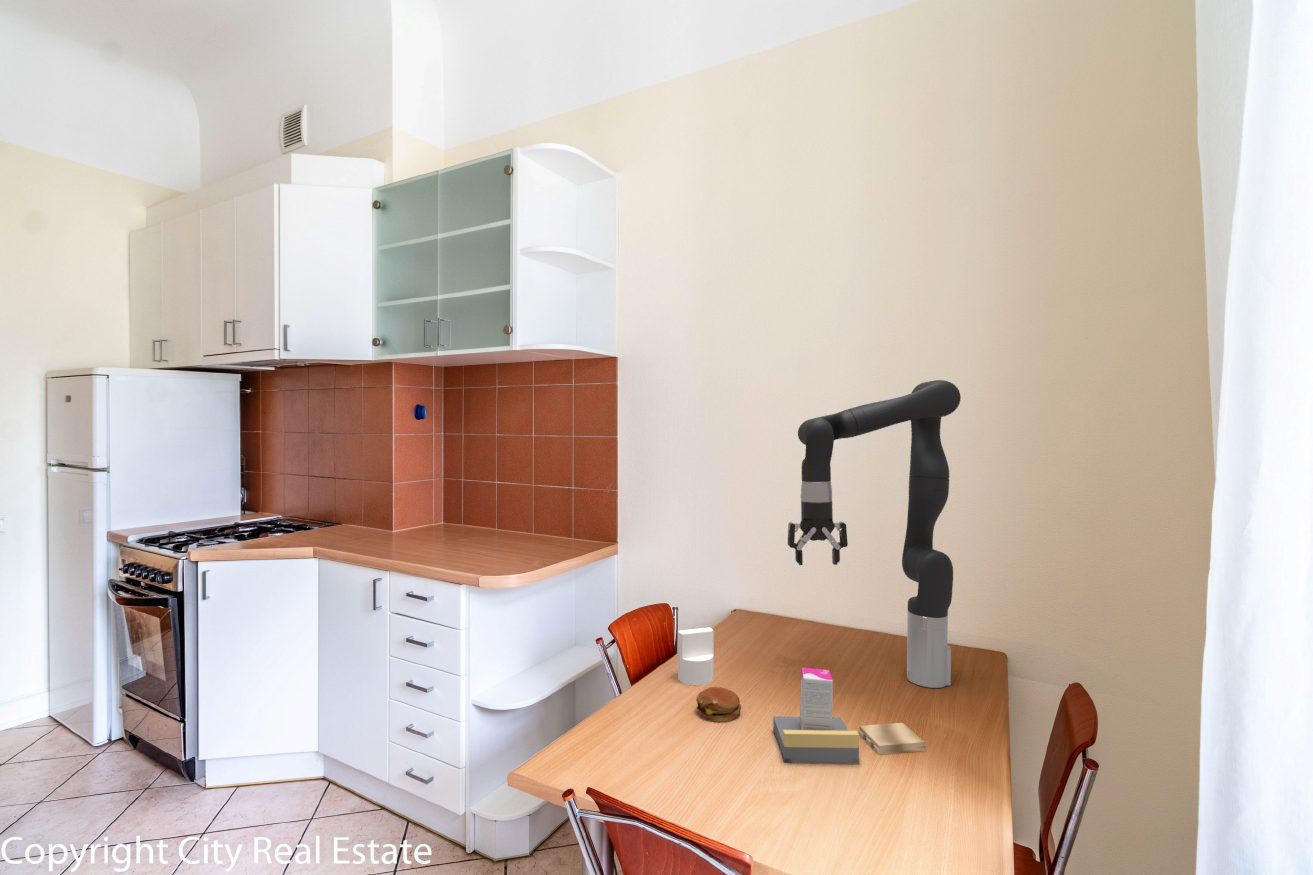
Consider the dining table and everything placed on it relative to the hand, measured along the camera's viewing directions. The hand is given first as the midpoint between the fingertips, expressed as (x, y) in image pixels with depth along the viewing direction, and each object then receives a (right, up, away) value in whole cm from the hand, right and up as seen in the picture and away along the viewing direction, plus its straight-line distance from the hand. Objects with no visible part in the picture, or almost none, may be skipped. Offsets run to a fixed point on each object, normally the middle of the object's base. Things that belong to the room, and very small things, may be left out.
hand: (817, 564), depth 148 cm
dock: (-9, -30, -30) cm, 43 cm away
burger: (-26, -30, -16) cm, 43 cm away
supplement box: (-8, -27, -29) cm, 41 cm away
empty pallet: (+7, -30, -28) cm, 42 cm away
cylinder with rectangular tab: (-30, -30, +3) cm, 42 cm away
